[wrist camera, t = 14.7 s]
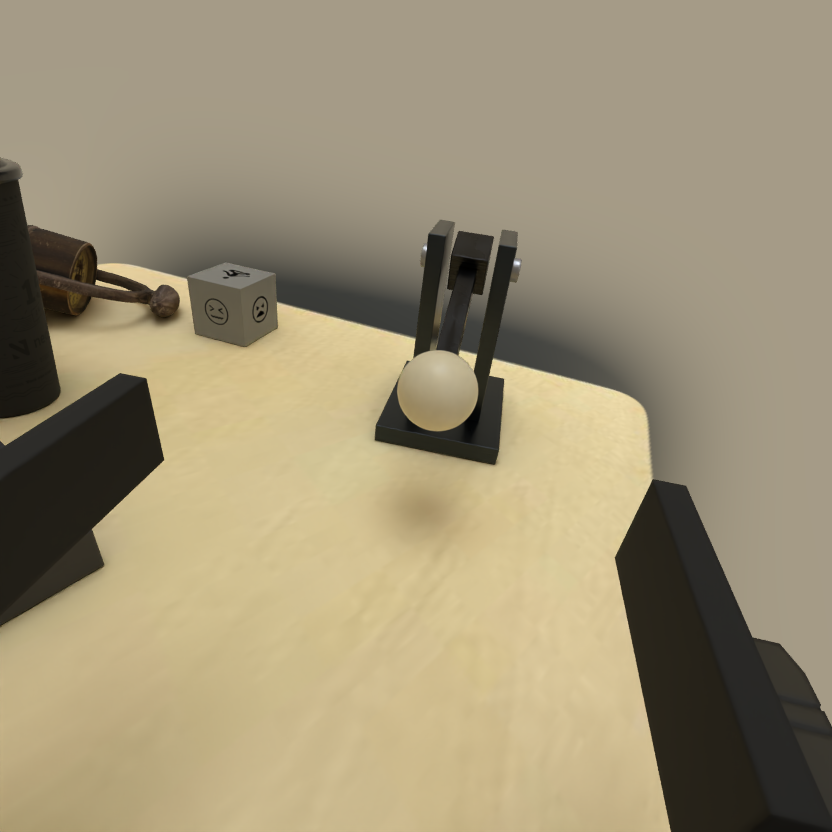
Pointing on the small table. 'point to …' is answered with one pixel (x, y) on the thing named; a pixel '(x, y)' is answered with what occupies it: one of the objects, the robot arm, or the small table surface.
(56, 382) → the drinking cup
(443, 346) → the lever
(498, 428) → the bracket
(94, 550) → the button box
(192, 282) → the dice cube
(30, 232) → the brown antique clock
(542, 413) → the small table surface
